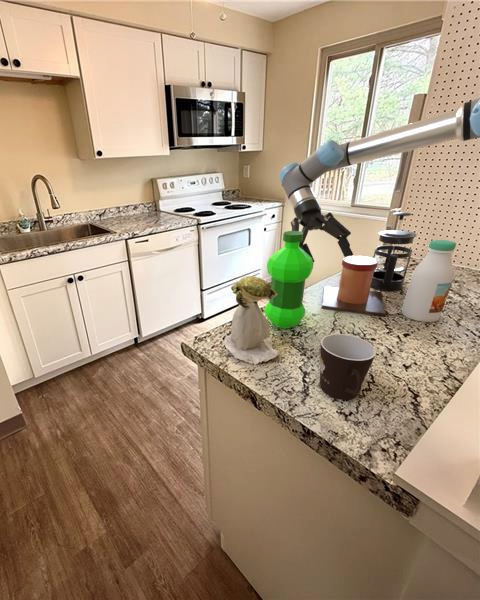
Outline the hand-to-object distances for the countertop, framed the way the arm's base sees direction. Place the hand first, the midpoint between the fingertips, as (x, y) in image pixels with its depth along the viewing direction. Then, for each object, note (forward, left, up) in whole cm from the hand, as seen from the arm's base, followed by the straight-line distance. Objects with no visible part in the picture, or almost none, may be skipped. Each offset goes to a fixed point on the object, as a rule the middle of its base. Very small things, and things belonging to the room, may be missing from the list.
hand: (330, 260), depth 97 cm
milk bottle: (-22, +12, -10) cm, 27 cm away
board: (-7, +8, -10) cm, 14 cm away
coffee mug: (-4, +52, -10) cm, 53 cm away
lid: (-7, +8, +3) cm, 11 cm away
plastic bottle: (+9, +28, -10) cm, 31 cm away
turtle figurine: (+14, +43, -10) cm, 46 cm away
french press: (-16, -7, -10) cm, 20 cm away
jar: (-7, +8, -9) cm, 14 cm away
